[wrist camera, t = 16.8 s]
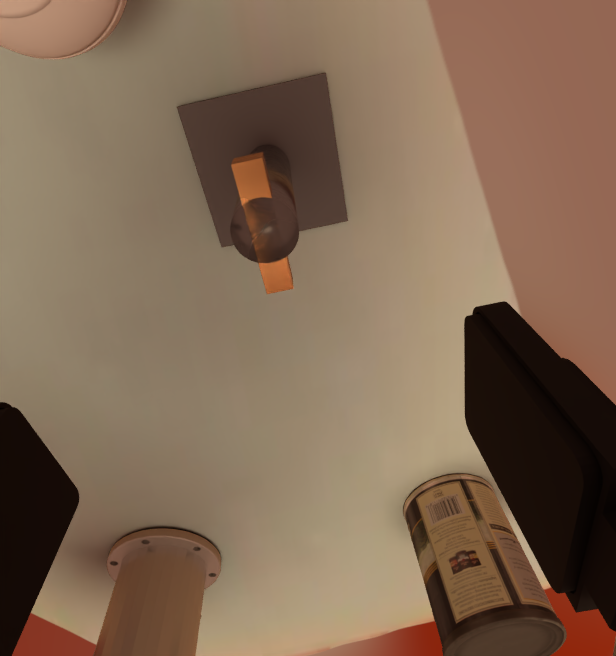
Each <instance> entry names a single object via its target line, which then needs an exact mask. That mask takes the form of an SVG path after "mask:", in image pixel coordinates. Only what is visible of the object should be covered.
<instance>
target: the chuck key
mask: <svg viewBox="0 0 616 656" xmlns="http://www.w3.org/2000/svg"><path fill="white" fill-rule="evenodd" d="M231 166H232V170H233V173H234V177H235V181H236V184H237V188H238V191H239V193H238V197H237V201H236V205H235V209H234V213H233V216H232V220H231V225H230V234H231V239H232V241H233V244H234V245H235V247H236V249H237V250H238V251H239V252H240V253H241V254H242V255H243V256H244V257H246V258H247V259H249V260H251V261H254V262H258V263H259V267H260V271H261V274H262V278H263V281H264V285H265V289H266V292H267V294H270V293H275V292H279V291H284V290H289V289H293V277H292V273H291V268H290V264H289V260H288V255H289V254H290V253H291V252H292V250H293V249H294V247H295V246H296V244H297V241H298V237H299V226H298V219H297V212H296V204H295V197H294V190H293V183H292V176H291V169H290V162H289V159H288V157H287V155H286V154H285V152H284V151H283V150H281V149H280V148H279V147H277V146H274V145H269V144H266V145H261V146H258V147H257V148H255V149H254V150H253V151H252V152H251V153H250V155H246V156H242V157H237V158H234V159H233V161H232V164H231Z"/></svg>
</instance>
